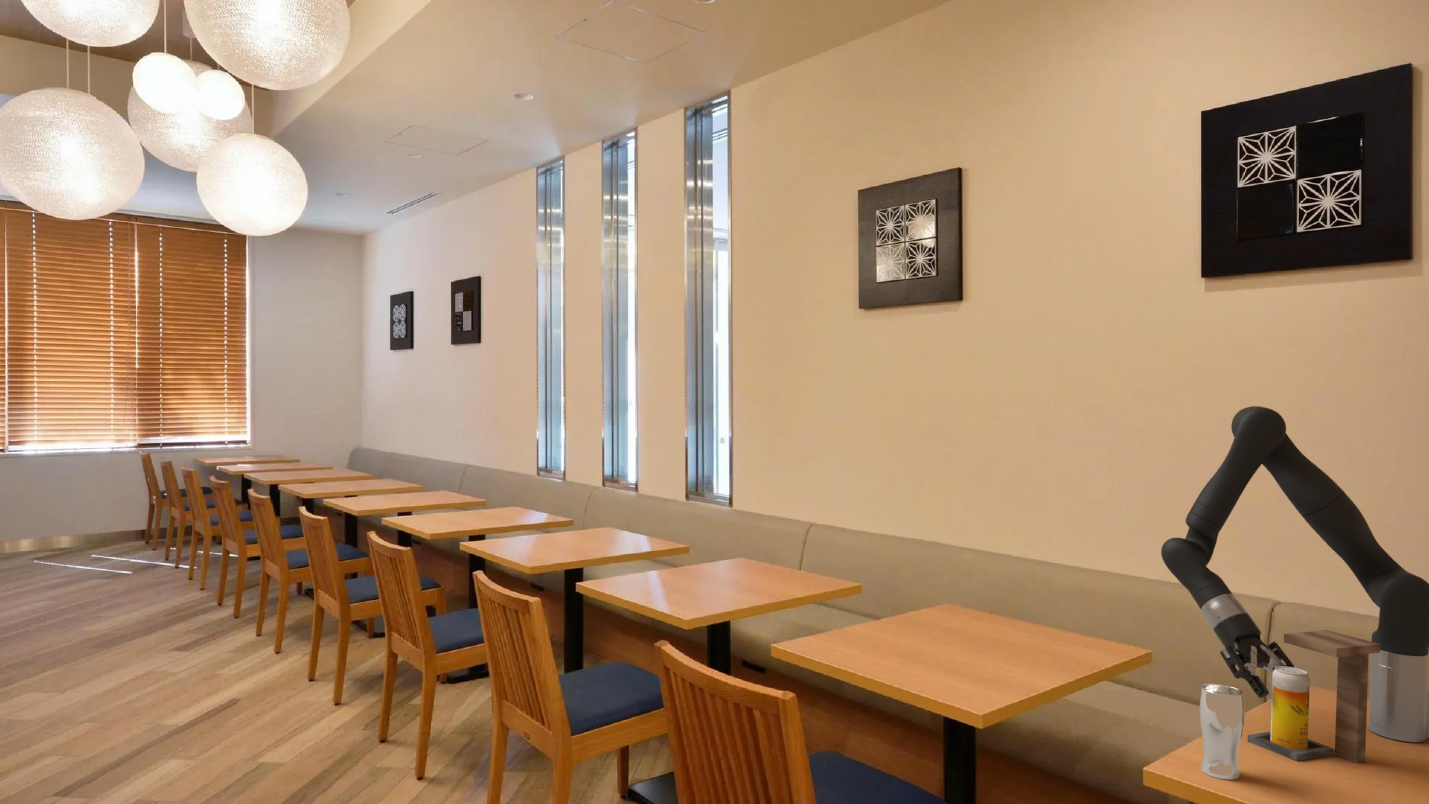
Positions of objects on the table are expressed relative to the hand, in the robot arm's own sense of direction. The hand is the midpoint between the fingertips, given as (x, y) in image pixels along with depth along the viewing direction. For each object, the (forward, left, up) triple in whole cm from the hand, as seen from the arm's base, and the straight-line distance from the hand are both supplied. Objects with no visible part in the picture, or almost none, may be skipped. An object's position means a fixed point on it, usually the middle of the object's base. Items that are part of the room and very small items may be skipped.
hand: (1280, 694), depth 173 cm
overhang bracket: (-2, +5, -10) cm, 11 cm away
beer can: (0, +2, -10) cm, 10 cm away
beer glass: (+23, +11, -10) cm, 27 cm away
